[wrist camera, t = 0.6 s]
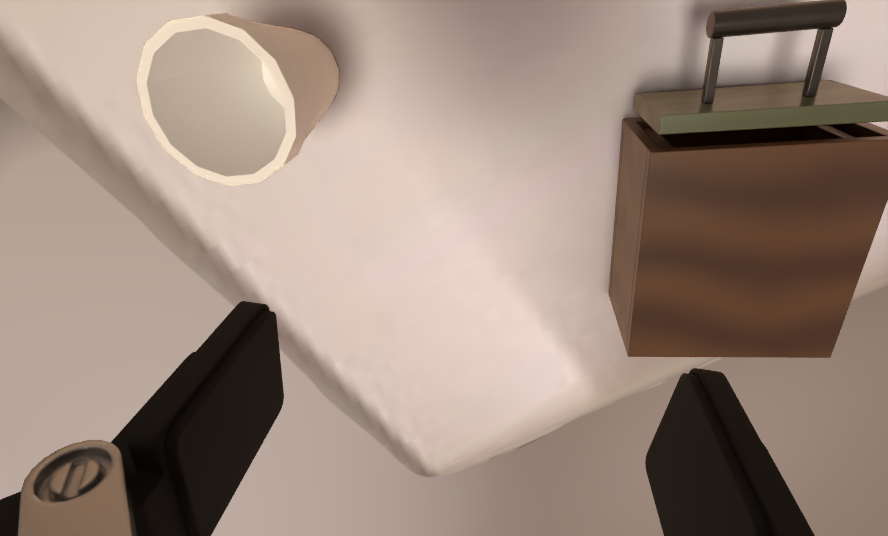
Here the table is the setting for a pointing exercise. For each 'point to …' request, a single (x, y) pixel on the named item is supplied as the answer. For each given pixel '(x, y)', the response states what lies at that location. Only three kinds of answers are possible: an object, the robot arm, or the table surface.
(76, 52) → the table surface
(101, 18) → the table surface
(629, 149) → the cabinet
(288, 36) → the foam cup
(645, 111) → the drawer
